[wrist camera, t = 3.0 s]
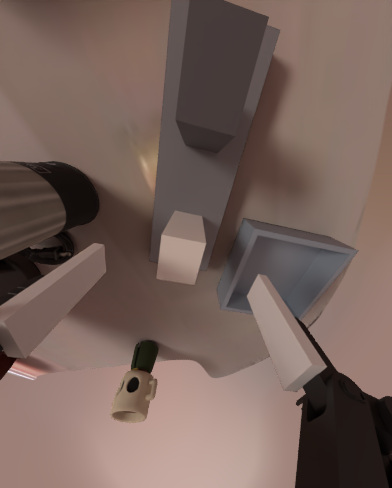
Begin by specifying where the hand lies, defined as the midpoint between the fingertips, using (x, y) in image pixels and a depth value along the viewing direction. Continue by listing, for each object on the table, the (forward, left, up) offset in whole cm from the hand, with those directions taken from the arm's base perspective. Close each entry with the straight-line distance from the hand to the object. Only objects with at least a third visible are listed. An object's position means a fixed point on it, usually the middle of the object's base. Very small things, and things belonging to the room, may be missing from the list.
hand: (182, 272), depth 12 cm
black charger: (+13, 0, -13) cm, 18 cm away
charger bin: (-5, -17, -13) cm, 22 cm away
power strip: (+7, 0, -13) cm, 15 cm away
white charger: (0, 0, -12) cm, 13 cm away
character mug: (-37, +4, -13) cm, 40 cm away
